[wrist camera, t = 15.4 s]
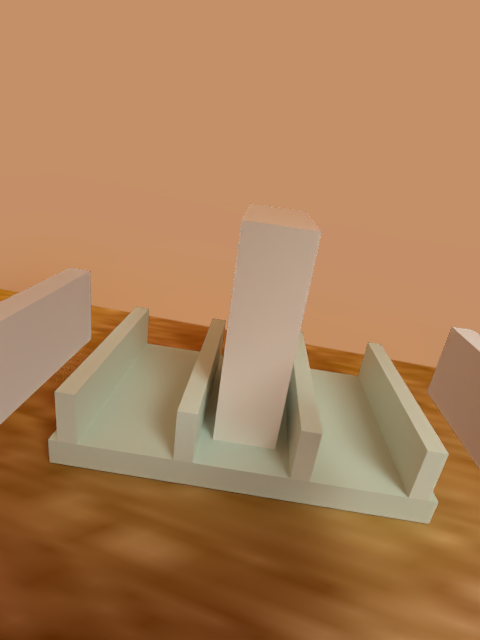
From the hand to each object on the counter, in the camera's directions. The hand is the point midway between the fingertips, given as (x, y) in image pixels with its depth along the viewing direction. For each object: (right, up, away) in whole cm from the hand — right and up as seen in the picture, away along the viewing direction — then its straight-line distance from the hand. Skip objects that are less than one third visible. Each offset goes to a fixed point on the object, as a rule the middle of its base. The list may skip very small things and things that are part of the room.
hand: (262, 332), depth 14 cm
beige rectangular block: (0, -5, +11) cm, 12 cm away
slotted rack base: (0, -6, +11) cm, 13 cm away
